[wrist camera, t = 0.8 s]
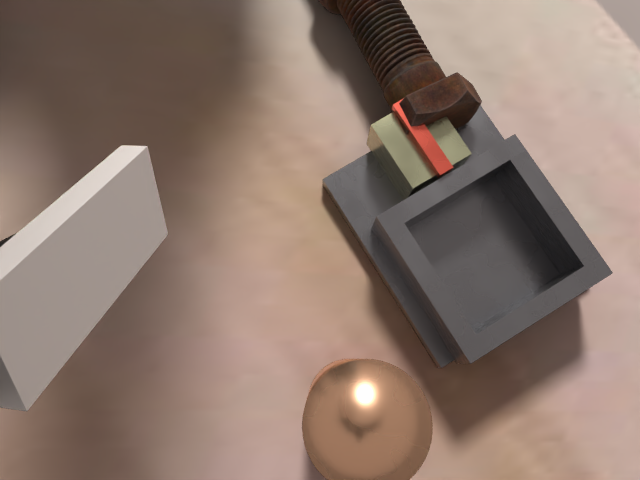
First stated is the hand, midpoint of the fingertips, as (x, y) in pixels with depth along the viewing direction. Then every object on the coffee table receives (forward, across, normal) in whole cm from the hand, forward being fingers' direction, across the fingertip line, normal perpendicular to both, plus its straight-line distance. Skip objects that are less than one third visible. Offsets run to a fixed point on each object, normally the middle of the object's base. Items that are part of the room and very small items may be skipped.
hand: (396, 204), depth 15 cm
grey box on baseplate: (+16, +2, -11) cm, 20 cm away
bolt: (+24, -4, -2) cm, 24 cm away
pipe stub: (+9, -3, -17) cm, 20 cm away
